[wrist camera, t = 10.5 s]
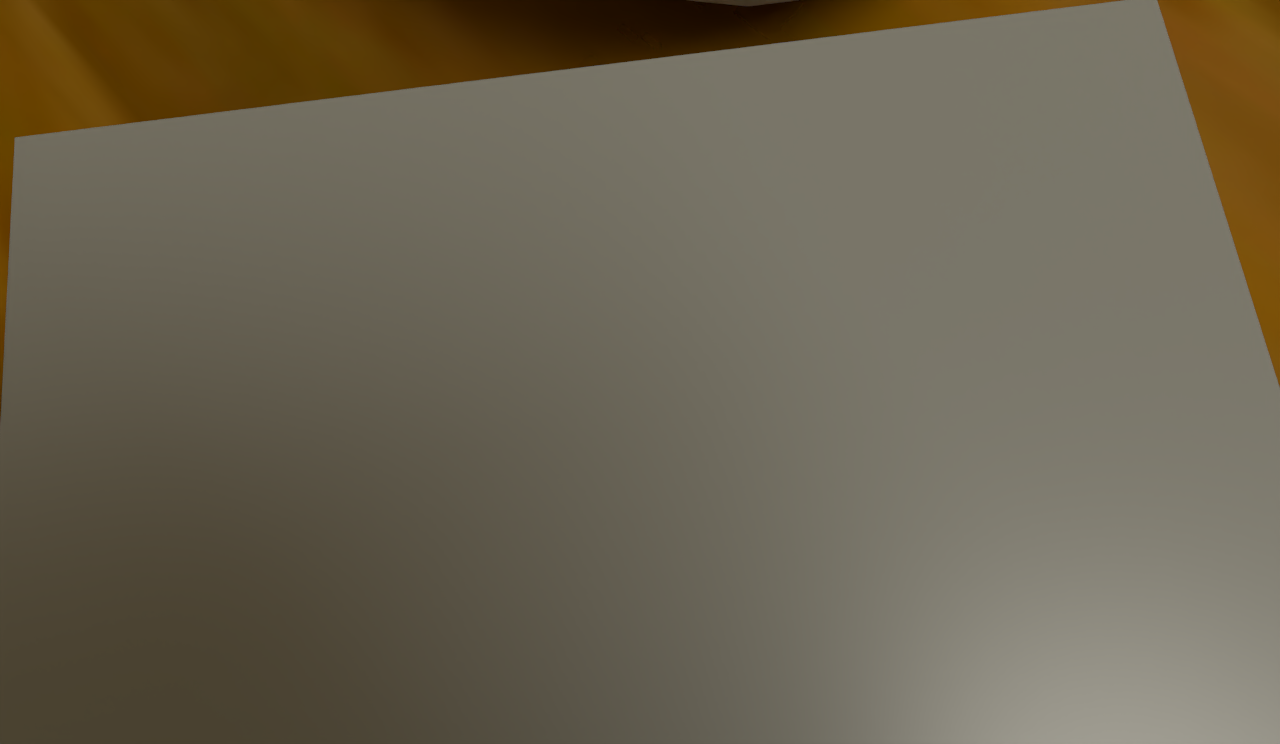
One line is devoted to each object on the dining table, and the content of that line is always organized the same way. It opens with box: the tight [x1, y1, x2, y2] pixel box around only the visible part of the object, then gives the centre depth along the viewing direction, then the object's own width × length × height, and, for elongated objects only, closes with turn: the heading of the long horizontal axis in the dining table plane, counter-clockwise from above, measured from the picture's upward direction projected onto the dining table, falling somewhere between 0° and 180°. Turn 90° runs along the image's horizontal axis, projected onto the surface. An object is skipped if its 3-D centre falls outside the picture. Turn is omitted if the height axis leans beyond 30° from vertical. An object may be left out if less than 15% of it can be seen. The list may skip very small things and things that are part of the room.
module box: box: [0, 0, 1280, 744], centre depth 10 cm, size 6×6×13 cm
